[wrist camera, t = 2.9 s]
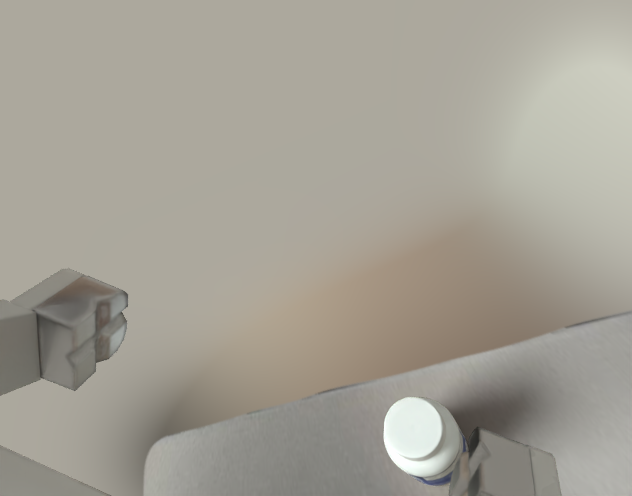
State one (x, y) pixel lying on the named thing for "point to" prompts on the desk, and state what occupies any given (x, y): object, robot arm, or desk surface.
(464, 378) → the desk surface
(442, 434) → the pill bottle
